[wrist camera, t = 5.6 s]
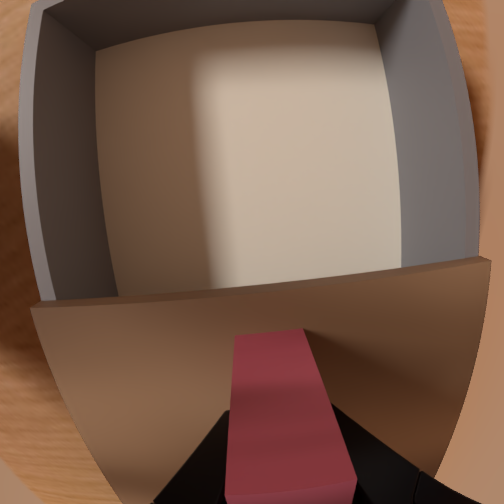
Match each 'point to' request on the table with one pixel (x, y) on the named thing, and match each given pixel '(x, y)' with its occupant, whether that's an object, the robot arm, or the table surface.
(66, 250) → the grey open box
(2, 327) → the table surface
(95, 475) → the table surface
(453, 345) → the lid
